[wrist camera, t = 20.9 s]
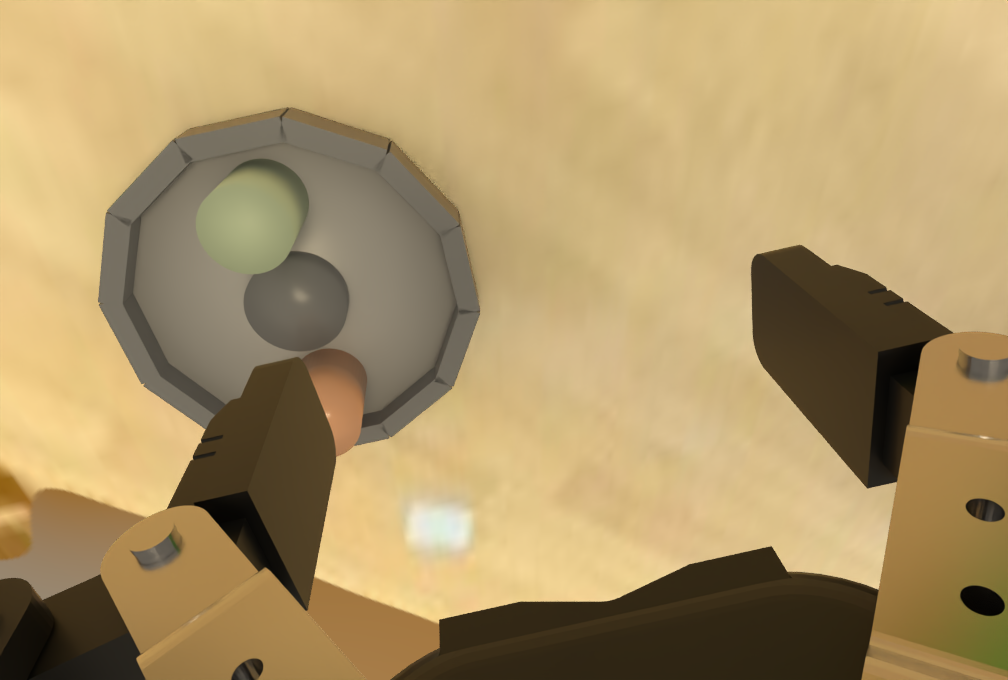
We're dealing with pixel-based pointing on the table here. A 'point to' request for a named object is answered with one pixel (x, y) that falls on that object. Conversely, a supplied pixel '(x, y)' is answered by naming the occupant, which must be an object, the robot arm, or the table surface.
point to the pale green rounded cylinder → (253, 216)
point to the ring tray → (292, 272)
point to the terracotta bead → (339, 393)
